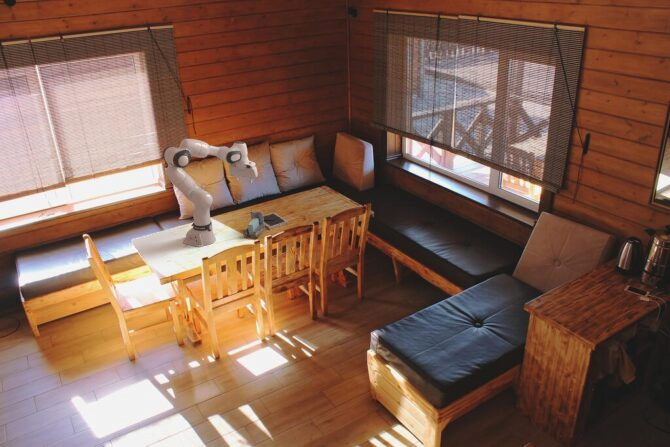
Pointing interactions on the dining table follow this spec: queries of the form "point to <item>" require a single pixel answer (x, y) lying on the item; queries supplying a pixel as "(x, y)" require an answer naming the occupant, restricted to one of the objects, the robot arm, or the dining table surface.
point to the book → (253, 226)
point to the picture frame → (274, 220)
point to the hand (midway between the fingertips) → (244, 182)
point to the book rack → (260, 228)
